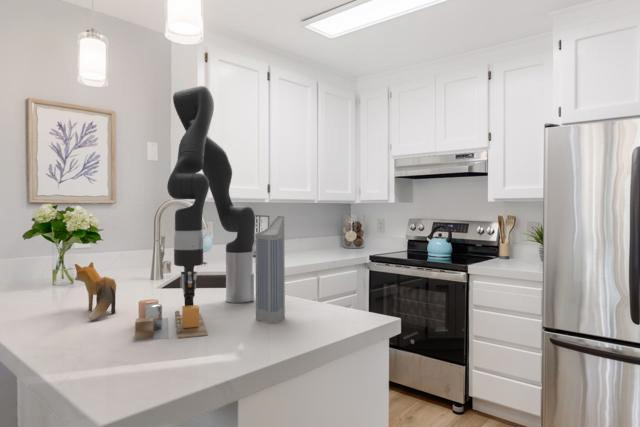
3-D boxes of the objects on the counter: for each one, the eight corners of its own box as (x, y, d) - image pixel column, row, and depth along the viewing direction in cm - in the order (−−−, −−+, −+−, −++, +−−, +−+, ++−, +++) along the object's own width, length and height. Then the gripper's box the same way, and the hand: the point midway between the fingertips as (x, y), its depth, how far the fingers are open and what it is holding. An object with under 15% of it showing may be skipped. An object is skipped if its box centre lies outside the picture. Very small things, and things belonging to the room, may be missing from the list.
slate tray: (168, 322, 124) (167, 317, 124) (168, 343, 104) (168, 338, 104) (137, 324, 121) (137, 320, 121) (132, 346, 101) (132, 341, 101)
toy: (99, 304, 147) (99, 260, 147) (130, 320, 126) (129, 268, 126) (63, 309, 140) (62, 263, 140) (89, 327, 119) (88, 272, 119)
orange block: (182, 324, 115) (182, 306, 115) (198, 322, 116) (197, 304, 116) (183, 328, 111) (182, 309, 111) (199, 326, 112) (199, 308, 112)
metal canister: (162, 325, 115) (162, 303, 115) (162, 329, 112) (162, 306, 112) (146, 327, 114) (145, 304, 114) (145, 331, 110) (145, 307, 110)
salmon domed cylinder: (158, 320, 121) (158, 298, 121) (158, 324, 116) (158, 302, 116) (139, 321, 119) (139, 300, 119) (138, 326, 115) (138, 303, 115)
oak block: (153, 333, 109) (153, 317, 109) (153, 337, 105) (153, 320, 105) (136, 334, 107) (136, 318, 107) (135, 339, 103) (135, 322, 103)
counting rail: (174, 320, 125) (174, 309, 125) (200, 318, 128) (200, 307, 128) (177, 343, 104) (177, 329, 104) (207, 340, 106) (207, 327, 106)
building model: (289, 317, 128) (289, 216, 128) (275, 324, 121) (274, 216, 121) (265, 315, 132) (265, 216, 132) (250, 321, 124) (249, 216, 124)
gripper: (205, 249, 112) (205, 316, 112) (201, 245, 124) (201, 305, 125) (174, 249, 109) (174, 318, 110) (173, 245, 122) (173, 307, 122)
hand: (188, 311), depth 117 cm, fingers closed
